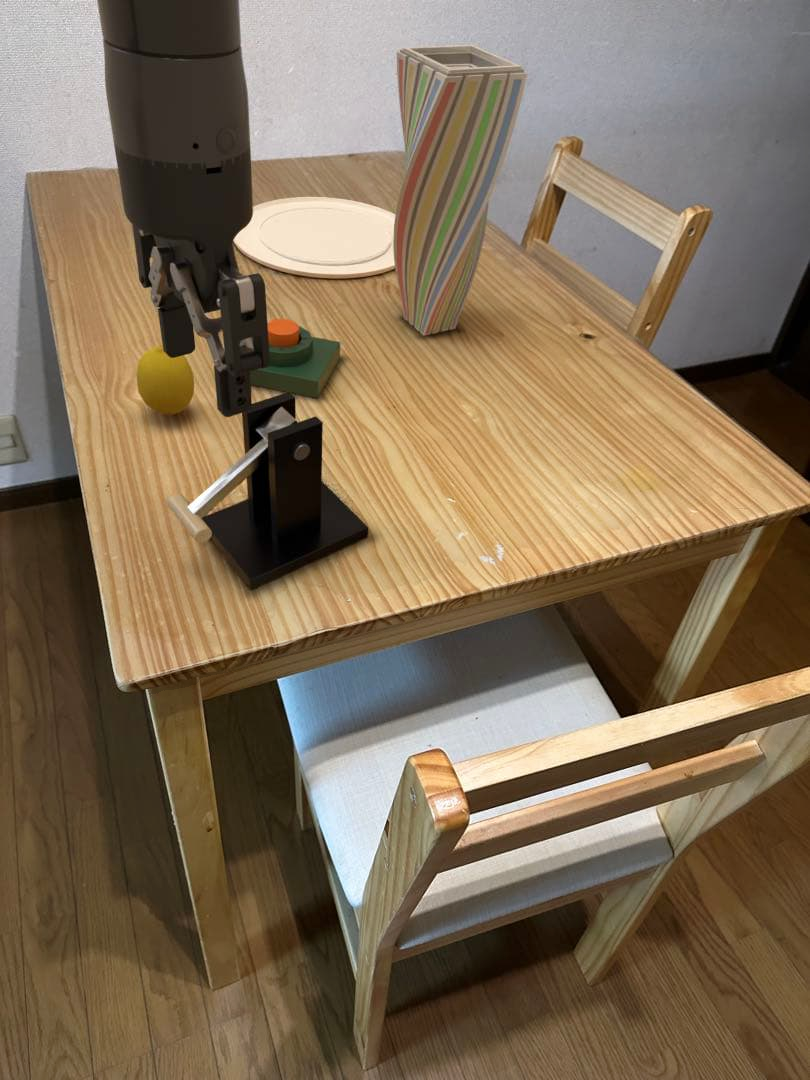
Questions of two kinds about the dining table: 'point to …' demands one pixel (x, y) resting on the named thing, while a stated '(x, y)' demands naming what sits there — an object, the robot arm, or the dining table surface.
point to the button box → (299, 366)
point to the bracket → (283, 503)
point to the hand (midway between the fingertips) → (206, 381)
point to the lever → (226, 481)
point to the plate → (320, 237)
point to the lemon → (165, 381)
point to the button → (283, 333)
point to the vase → (448, 172)
